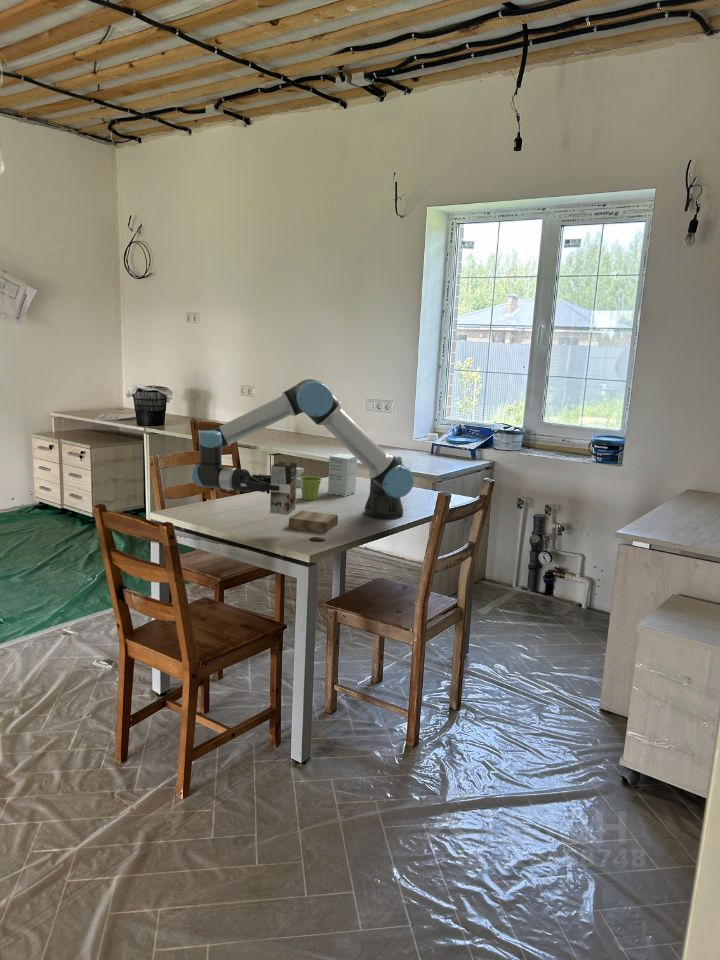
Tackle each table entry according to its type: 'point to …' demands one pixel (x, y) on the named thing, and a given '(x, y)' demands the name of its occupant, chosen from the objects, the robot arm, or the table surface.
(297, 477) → the stamp
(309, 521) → the walnut riser block
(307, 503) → the table surface
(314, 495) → the plant pot
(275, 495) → the coffee box
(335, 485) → the supplement box
